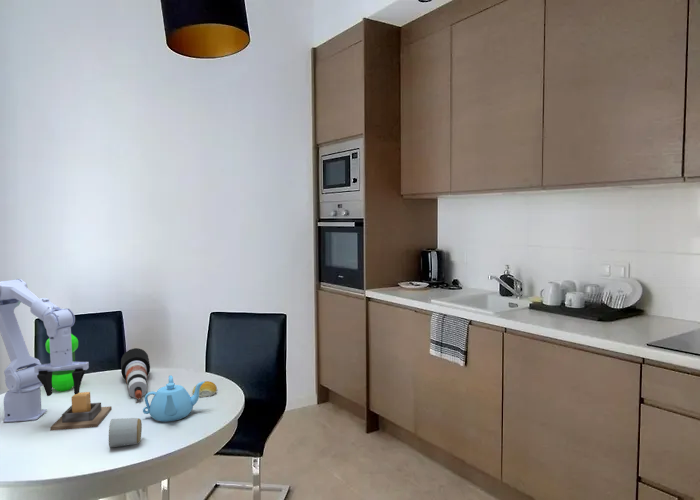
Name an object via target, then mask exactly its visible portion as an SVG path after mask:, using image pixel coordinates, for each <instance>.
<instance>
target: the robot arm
mask: <svg viewBox="0 0 700 500" xmlns="http://www.w3.org/2000/svg"><path fill="white" fill-rule="evenodd" d="M21 303H22V304H24V305H25V306H27V307H29V309H30V313H31V314H32V315H33V316H35V317H36V318H38V319H39V320H41V321H42V322H43V326H44V328H45V329H46V330H45V331H46V335H47V336H48V339H49V341H50V354H49V361H50V360H51V363H43V364H42V363H41V361H40V360H39V358H36V357H33V356H31V355H30V353H29V352H30V351H29V349H28V347H27V345H26V341H25V339H24V335H23V334H22V330H21V328H20V325H19V321H18V320H17V316H16V314H15V309H16V308H17V307H19V306H20V305H21ZM75 322H76V316H75V314H74V312H73V311H72V309H70V308H67V307H66V308H63V307H62V308H61V307H60V306H58V305H56V303H54V302H52V301H51V300H50V298H48V297H41V298H39V297H38V296H37V295H36V294H35V293H33V291H31V290H30V289H29V288H28V283H27V282H26V281H24V280H23V279H21V278H16V279H10V280H2V281H0V335H1V338H2V342H3V343H4V344H3V345H4V347H5V350H6V352H7V355H8V359H9V361H10V363H9V364H8V365H7V366H6V368H5V369H4V371H3V372H4V373H3V374H4V378H5V380H4V381H5V385H6V388H7V391H6V392H5V394H4V396H3V413H4V419H3V423H13V422H24V421H25V422H26V421H37V420H38V419H40V418H41V416H43V415H44V414H45V413H46V412H47V411H48V409H46V408H45V409H44V408H43V409H42V393H41V391H42V390H41V387H43V388H44V391H45V393H46V396H47V397H51V395H53V388H52V373H53V371H65V370H75V371H74V372H72V377H73V381H74V387H73V393H74V394H73V395H75V394H78V393H80V388H81V384H82V380H83V378H84V375H85V373H86V371H87V370H88V369H89V368H90V366H89V365H90V363H89V361H75V362H72V342H71V334H72V327H73V326H74V325H75Z"/></svg>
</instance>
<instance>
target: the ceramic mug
mask: <svg viewBox="0 0 700 500" xmlns="http://www.w3.org/2000/svg"><path fill="white" fill-rule="evenodd" d="M142 423H143V422H142V419H141V418H137V417H128V418H111V419H110V422H109V425H108V447H109V448H117V447H124V446H131V445H132V446H133V445H137V444H139V443H140V442H141V441H142V440H141V439H142V429H143V427H142V426H143V424H142Z"/></svg>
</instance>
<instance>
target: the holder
mask: <svg viewBox="0 0 700 500" xmlns="http://www.w3.org/2000/svg"><path fill="white" fill-rule="evenodd" d="M111 411H112V406H110V405H109V406H102V402H91V411H90V412H77V413H72V404H71V405H70V406H69V407H68V408H67V409H66V410H65V411H64V412H63V413H62V414H61V416H60V417H59V418H58V419H57V420H56V421H55V422H53V424H52V425H51V426H50V427H49V428H50V431H58V430H59V431H60V430H74V429H75V430H76V429H87V428H88V429H89V428H98V427H99V425H100V424H101V423H102V421H103V420H104V419H105V418H106V417H107V416H108V415H109V413H110V412H111Z"/></svg>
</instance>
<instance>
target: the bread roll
mask: <svg viewBox="0 0 700 500" xmlns="http://www.w3.org/2000/svg"><path fill="white" fill-rule="evenodd" d="M204 381H205V380H204ZM195 387H196V385H195V386H193V389H192V396H193V395H194V393H195ZM216 393H217V385H216V384H215V383H214V382H213V381H210V380H209V381H207V380H206V381H205V382H204V383H203V384H202V385H201V387H200V390H199V398H206V397H207V398H208V397H212V396H214V395H215V394H216Z"/></svg>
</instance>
